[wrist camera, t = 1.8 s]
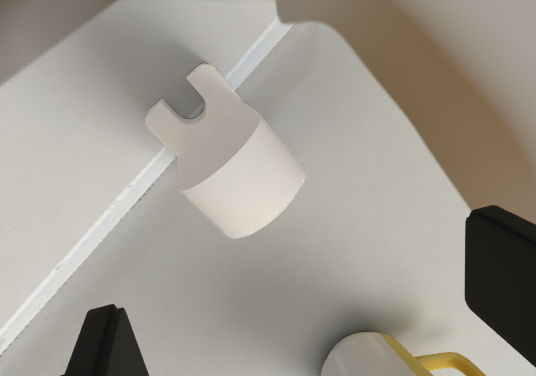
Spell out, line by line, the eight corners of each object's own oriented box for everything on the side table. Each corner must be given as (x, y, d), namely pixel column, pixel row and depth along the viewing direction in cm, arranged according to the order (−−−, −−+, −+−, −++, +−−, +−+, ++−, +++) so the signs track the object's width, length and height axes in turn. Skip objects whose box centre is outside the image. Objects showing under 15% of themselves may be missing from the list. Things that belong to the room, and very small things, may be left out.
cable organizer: (205, 58, 24) (222, 64, 15) (300, 170, 28) (360, 230, 19) (142, 115, 25) (121, 154, 15) (244, 218, 28) (277, 300, 19)
